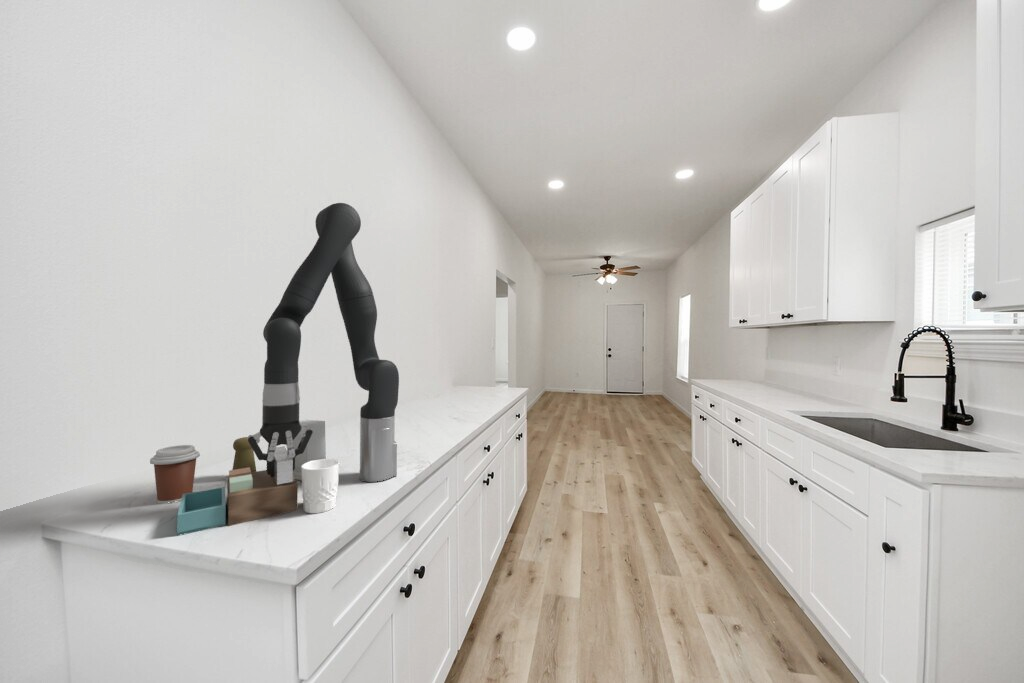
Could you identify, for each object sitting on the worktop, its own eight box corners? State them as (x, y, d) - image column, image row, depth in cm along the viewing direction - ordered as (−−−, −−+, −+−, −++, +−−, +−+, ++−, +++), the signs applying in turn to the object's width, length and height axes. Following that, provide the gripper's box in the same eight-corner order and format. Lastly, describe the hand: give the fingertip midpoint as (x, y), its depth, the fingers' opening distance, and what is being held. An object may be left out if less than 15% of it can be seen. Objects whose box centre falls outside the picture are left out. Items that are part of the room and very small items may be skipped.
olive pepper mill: (243, 481, 103) (243, 441, 103) (225, 479, 105) (225, 439, 105) (262, 474, 109) (262, 435, 109) (244, 472, 110) (245, 434, 111)
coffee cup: (179, 489, 97) (180, 442, 98) (208, 492, 96) (209, 444, 96) (138, 504, 88) (139, 452, 89) (169, 508, 87) (170, 455, 87)
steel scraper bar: (284, 465, 97) (284, 446, 97) (292, 481, 86) (292, 459, 86) (270, 468, 95) (270, 448, 95) (277, 484, 84) (277, 462, 84)
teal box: (224, 503, 89) (224, 486, 89) (225, 524, 79) (225, 505, 79) (182, 512, 85) (182, 494, 85) (177, 535, 74) (177, 515, 74)
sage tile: (251, 483, 86) (251, 474, 86) (252, 488, 83) (252, 479, 83) (229, 487, 84) (229, 477, 84) (229, 492, 80) (229, 483, 80)
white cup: (292, 511, 85) (293, 466, 85) (321, 498, 93) (322, 457, 93) (318, 517, 82) (319, 471, 82) (346, 503, 90) (347, 461, 90)
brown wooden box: (287, 489, 98) (288, 466, 98) (297, 510, 86) (297, 483, 86) (227, 501, 90) (227, 476, 90) (228, 525, 78) (228, 496, 78)
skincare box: (326, 475, 109) (327, 420, 109) (306, 482, 103) (306, 425, 103) (306, 471, 112) (307, 418, 112) (285, 478, 106) (285, 422, 106)
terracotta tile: (249, 475, 91) (249, 467, 91) (250, 480, 88) (250, 471, 88) (228, 479, 88) (228, 470, 88) (229, 484, 85) (229, 475, 85)
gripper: (311, 397, 98) (310, 464, 98) (244, 402, 89) (243, 476, 89) (317, 401, 92) (316, 472, 92) (246, 406, 83) (245, 485, 83)
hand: (280, 474), depth 90 cm, fingers closed on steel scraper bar, 3 cm apart
